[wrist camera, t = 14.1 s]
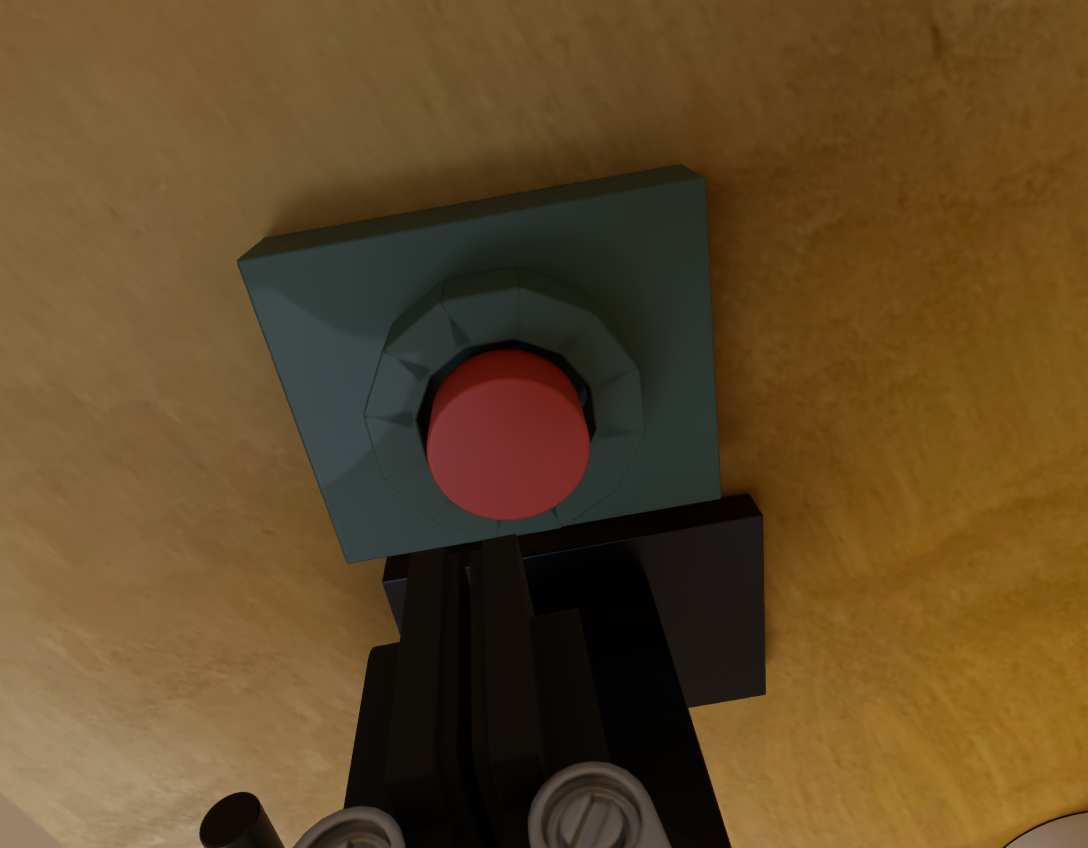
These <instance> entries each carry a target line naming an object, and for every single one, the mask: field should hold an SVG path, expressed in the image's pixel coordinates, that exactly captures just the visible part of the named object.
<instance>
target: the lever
mask: <svg viewBox="0 0 1088 848" xmlns="http://www.w3.org/2000/svg"><path fill="white" fill-rule="evenodd" d="M199 836H200V841H201V843H202V844H203V846H204V847H205V848H285V847H284V845H283V844H282V842H281V840H280V838H279V836H278V834H277V833H276V831H275V829H274V827H273V825H272V823H271V822H270V820H269V818H268V816H267V814H266V813H265V811H264V809H263V807H262V805H261V803H260V802H259V800H258V798H257V797H256V796H255V795H253V794H251V793H248V792H238V793H234V794H231V795H229V796H227V797H225V798H223V799H222V800H220V801H219V802H217V803H216V804H215V805H214V806H213V807H212V808H211V809H210V810H209V811H208V813H207V814H206V816H205V817H204V819H203V821H202V823H201V826H200V832H199Z"/></svg>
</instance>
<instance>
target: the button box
mask: <svg viewBox="0 0 1088 848" xmlns="http://www.w3.org/2000/svg"><path fill="white" fill-rule="evenodd" d="M237 264H238V267H239V269H240V272H241V275H242V278H243V280H244V283H245V286H246V289H247V291H248V294H249V297H250V300H251V302H252V305H253V308H254V310H255V313H256V316H257V319H258V321H259V324H260V327H261V330H262V332H263V335H264V338H265V341H266V343H267V346H268V349H269V352H270V354H271V357H272V360H273V362H274V365H275V368H276V371H277V373H278V376H279V379H280V382H281V384H282V387H283V390H284V393H285V395H286V398H287V401H288V403H289V406H290V409H291V412H292V414H293V417H294V420H295V423H296V425H297V428H298V431H299V434H300V436H301V439H302V442H303V445H304V447H305V450H306V453H307V455H308V458H309V461H310V464H311V466H312V469H313V472H314V475H315V477H316V480H317V483H318V486H319V488H320V491H321V494H322V496H323V499H324V502H325V505H326V507H327V510H328V513H329V516H330V518H331V521H332V524H333V527H334V529H335V532H336V535H337V537H338V540H339V543H340V546H341V548H342V551H343V554H344V557H345V559H346V562H347V563H355V562H361V561H366V560H372V559H378V558H383V557H389V556H395V555H401V554H406V553H412V552H418V551H424V550H429V549H435V548H441V547H447V546H452V545H458V544H464V543H470V542H475V541H481V540H484V539H490V538H495V537H500V536H506V535H511V534H516V535H517V536H519V535H525V534H531V533H536V532H542V531H548V530H554V529H559V528H561V527H562V526H567V525H573V524H579V523H584V522H590V521H596V520H602V519H607V518H613V517H619V516H625V515H630V514H636V513H642V512H647V511H653V510H659V509H665V508H670V507H676V506H682V505H688V504H693V503H699V502H705V501H711V500H716V499H720V498H721V479H720V459H719V439H718V418H717V398H716V378H715V358H714V337H713V317H712V297H711V277H710V257H709V236H708V216H707V196H706V179H705V177H704V176H702V175H700V174H698V173H696V172H695V171H693V170H691V169H689V168H687V167H685V166H684V165H681V164H680V165H674V166H668V167H663V168H657V169H652V170H646V171H640V172H635V173H629V174H624V175H618V176H612V177H607V178H601V179H595V180H590V181H584V182H579V183H573V184H567V185H562V186H556V187H551V188H545V189H539V190H534V191H528V192H523V193H517V194H511V195H506V196H500V197H494V198H489V199H483V200H478V201H472V202H466V203H461V204H455V205H450V206H444V207H438V208H433V209H427V210H421V211H416V212H410V213H405V214H399V215H393V216H388V217H382V218H377V219H371V220H365V221H360V222H354V223H348V224H343V225H337V226H332V227H326V228H320V229H315V230H309V231H304V232H298V233H292V234H287V235H281V236H275V237H270V238H264V239H262V240H261V241H260V242H259V243H257V244H256V245H255V246H254V247H252V248H251V249H250V250H249V251H248V252H246V253H245V254H244V255H243V256H241V257H240V258H239V259H238V260H237ZM501 349H514V350H522V351H527V352H530V353H534V354H536V355H539V356H541V357H544V358H545V359H547V360H549V361H551V362H552V363H554V364H555V365H556V366H558V367H559V368H560V369H561V370H562V371H563V372H564V373H565V374H566V375H567V376H568V378H569V379H570V380H571V382H572V384H573V385H574V387H575V389H576V391H577V394H578V396H579V399H580V403H581V407H582V410H583V414H584V417H585V421H586V425H587V428H588V433H589V437H590V457H589V461H588V466H587V468H586V471H585V473H584V475H583V477H582V479H581V481H580V483H579V484H578V485H577V487H576V488H575V489H574V491H573V492H572V493H571V494H570V495H569V496H568V497H567V498H566V499H565V500H563V501H562V502H561V503H560V504H558V505H557V506H555V507H554V508H552V509H550V510H548V511H546V512H544V513H542V514H539V515H536V516H533V517H529V518H525V519H518V520H496V519H490V518H485V517H481V516H478V515H475V514H473V513H470V512H468V511H466V510H464V509H463V508H461V507H459V506H458V505H456V504H455V503H454V502H453V501H451V500H450V499H449V498H448V497H447V496H446V495H445V494H444V493H443V492H442V491H441V489H440V488H439V486H438V485H437V484H436V482H435V480H434V478H433V476H432V474H431V471H430V468H429V465H428V460H427V438H428V432H429V425H430V419H431V412H432V406H433V402H434V398H435V395H436V393H437V391H438V389H439V387H440V385H441V384H442V382H443V381H444V379H445V378H446V377H447V376H448V374H449V373H450V372H451V371H452V370H454V369H455V368H456V367H457V366H458V365H460V364H461V363H463V362H464V361H466V360H468V359H469V358H471V357H473V356H476V355H479V354H481V353H484V352H489V351H493V350H501Z"/></svg>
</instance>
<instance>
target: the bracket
mask: <svg viewBox="0 0 1088 848" xmlns="http://www.w3.org/2000/svg"><path fill="white" fill-rule="evenodd" d="M517 538H518V542H519V547H520V552H521V556H522V561H523V565H524V570H525V574H526V579H527V584H528V588H529V593H530V597H531V602H532V607H533V611H534V616H538V615H544V614H549V613H554V612H559V611H565V610H570V609H575V608H578V609H579V613H580V618H581V623H582V628H583V632H584V637H585V642H586V647H587V652H588V657H589V662H590V666H591V671H592V676H593V681H594V686H595V691H596V695H597V700H598V705H599V710H600V715H601V720H602V725H603V729H604V734H605V739H606V744H607V749H608V754H609V758H610V763H611V764H613V765H616V766H618V767H621V768H623V769H625V770H627V771H628V772H629V773H631V774H632V775H633V776H634V777H635V778H637V779H638V780H639V781H640V782H641V783H642V785H643V787H644V788H645V790H646V791H647V793H648V794H649V796H650V798H651V800H652V803H653V805H654V807H655V810H656V812H657V814H658V817H659V819H660V821H661V823H662V824H664V825H666V826H667V827H669V828H670V829H672V830H674V831H675V832H677V833H679V834H680V835H682V836H683V837H685V838H687V839H688V840H690V841H691V842H693V843H695V844H696V845H698V846H700V847H701V848H731V844H730V841H729V838H728V835H727V832H726V828H725V825H724V822H723V819H722V816H721V812H720V809H719V806H718V803H717V800H716V796H715V793H714V790H713V787H712V783H711V780H710V777H709V774H708V771H707V767H706V764H705V761H704V758H703V755H702V751H701V748H700V745H699V742H698V739H697V735H696V732H695V729H694V726H693V722H692V719H691V716H690V713H689V710H688V708H691V707H697V706H703V705H709V704H714V703H720V702H726V701H732V700H738V699H743V698H749V697H755V696H761V695H765V694H766V671H765V612H764V552H763V515H762V513H761V512H760V510H759V508H758V507H757V505H756V504H755V502H754V500H753V499H752V497H751V495H750V494H743V495H737V496H731V497H726V498H720V499H716V500H711V501H705V502H699V503H693V504H688V505H682V506H676V507H670V508H665V509H659V510H653V511H647V512H642V513H636V514H630V515H625V516H619V517H613V518H607V519H602V520H596V521H590V522H584V523H579V524H573V525H567V526H562V527H561V528H559V529H554V530H548V531H542V532H536V533H531V534H525V535H519V536H517ZM441 548H442V547H441ZM446 548H447V550H448V552H449V555H455V554H461V556H462V558H463V562H464V566H465V569H466V573H467V577H468V580H469V584H470V552H471V551H476V550H481V549H482V540H481V541H475V542H470V543H464V544H458V545H452V546H447V547H446ZM435 549H437V548H435ZM429 550H432V549H429ZM424 551H426V550H424ZM418 552H421V551H418ZM412 553H416V552H412ZM412 553H406V554H401V555H395V556H389V557H387V559H386V564H385V570H384V575H383V580H382V583H383V586H384V589H385V592H386V595H387V598H388V601H389V604H390V607H391V610H392V613H393V616H394V618H395V621H396V624H397V627H398V630H399V633H400V636H401V628H402V619H403V610H404V602H405V593H406V584H407V576H408V567H409V559H410V555H411V554H412Z"/></svg>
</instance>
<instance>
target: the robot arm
mask: <svg viewBox="0 0 1088 848" xmlns="http://www.w3.org/2000/svg"><path fill="white" fill-rule="evenodd" d="M293 848H701V847H700V846H698V845H696V844H695V843H693V842H691V841H690V840H688V839H687V838H685V837H683V836H682V835H680V834H679V833H677V832H675V831H674V830H672V829H670V828H669V827H667V826H666V825H664V824H662V823H661V821H660V819H659V817H658V814H657V812H656V810H655V807H654V805H653V803H652V800H651V798H650V796H649V794H648V793H647V791H646V790H645V788H644V787H643V785H642V783H641V782H640V781H639V780H638V779H637V778H635V777H634V776H633V775H632V774H631V773H629V772H628V771H627V770H625V769H623V768H621V767H618V766H616V765H613V764H611V763H610V758H609V754H608V749H607V744H606V739H605V734H604V729H603V725H602V720H601V715H600V710H599V705H598V700H597V695H596V691H595V686H594V681H593V676H592V671H591V666H590V662H589V657H588V652H587V647H586V642H585V637H584V632H583V628H582V623H581V618H580V613H579V609H578V608H575V609H570V610H565V611H559V612H554V613H549V614H544V615H538V616H534V611H533V607H532V602H531V597H530V593H529V588H528V584H527V579H526V574H525V570H524V565H523V561H522V556H521V552H520V547H519V542H518V538H517V535H516V534H511V535H506V536H500V537H495V538H490V539H484V540H482V549H481V550H476V551H471V552H470V584H469V580H468V577H467V573H466V569H465V566H464V562H463V558H462V556H461V554H455V555H449V552H448V550H447V548H446V547H442V548H437V549H432V550H426V551H421V552H416V553H412V554H411V555H410V559H409V567H408V576H407V584H406V593H405V602H404V610H403V619H402V628H401V636H400V642H397V643H392V644H387V645H382V646H376V647H373V648H372V650H371V651H370V654H369V658H368V663H367V669H366V675H365V681H364V688H363V694H362V700H361V706H360V712H359V718H358V724H357V730H356V736H355V742H354V748H353V754H352V760H351V766H350V772H349V779H348V785H347V791H346V797H345V803H344V809H342V810H339V811H337V812H335V813H333V814H331V815H329V816H327V817H325V818H323V819H322V820H320V821H319V822H318V823H316V824H315V825H314V826H313V827H311V828H310V829H309V830H308V831H306V832H305V833H304V835H303V836H302V837H301V838H300V839H299V841H298V842H297V843H296V844H295V846H294V847H293Z"/></svg>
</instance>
